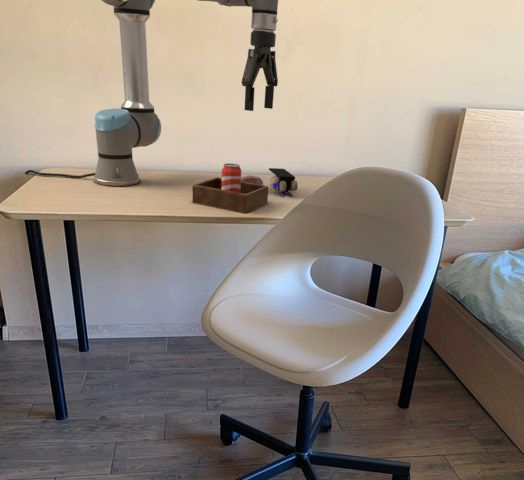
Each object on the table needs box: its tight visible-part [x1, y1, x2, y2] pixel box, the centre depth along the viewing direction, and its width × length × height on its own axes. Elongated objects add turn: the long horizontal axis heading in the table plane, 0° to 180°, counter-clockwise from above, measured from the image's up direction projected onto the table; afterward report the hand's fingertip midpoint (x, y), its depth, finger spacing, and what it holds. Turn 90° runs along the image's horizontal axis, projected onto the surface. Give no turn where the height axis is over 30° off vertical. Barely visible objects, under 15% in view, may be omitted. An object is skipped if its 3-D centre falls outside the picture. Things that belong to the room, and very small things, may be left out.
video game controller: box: [241, 174, 264, 185], centre depth 182 cm, size 10×5×7 cm, turn 105°
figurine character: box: [268, 167, 299, 197], centre depth 184 cm, size 7×8×15 cm
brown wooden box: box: [191, 176, 269, 214], centre depth 167 cm, size 20×16×6 cm
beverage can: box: [221, 163, 242, 193], centre depth 165 cm, size 6×6×12 cm
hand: (258, 109), depth 163 cm, fingers open, 13 cm apart
